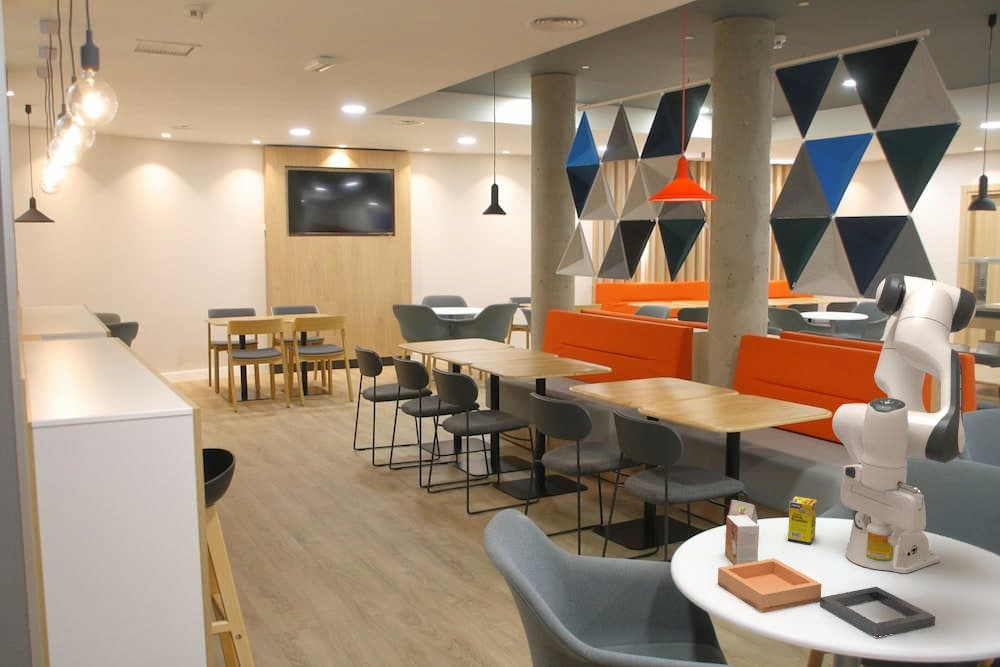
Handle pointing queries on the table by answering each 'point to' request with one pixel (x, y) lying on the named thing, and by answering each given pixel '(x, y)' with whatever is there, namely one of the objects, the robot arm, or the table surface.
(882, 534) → the supplement bottle
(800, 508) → the supplement box
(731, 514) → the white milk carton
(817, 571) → the table surface
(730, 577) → the tray
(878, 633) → the dark grey square frame
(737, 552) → the small box
